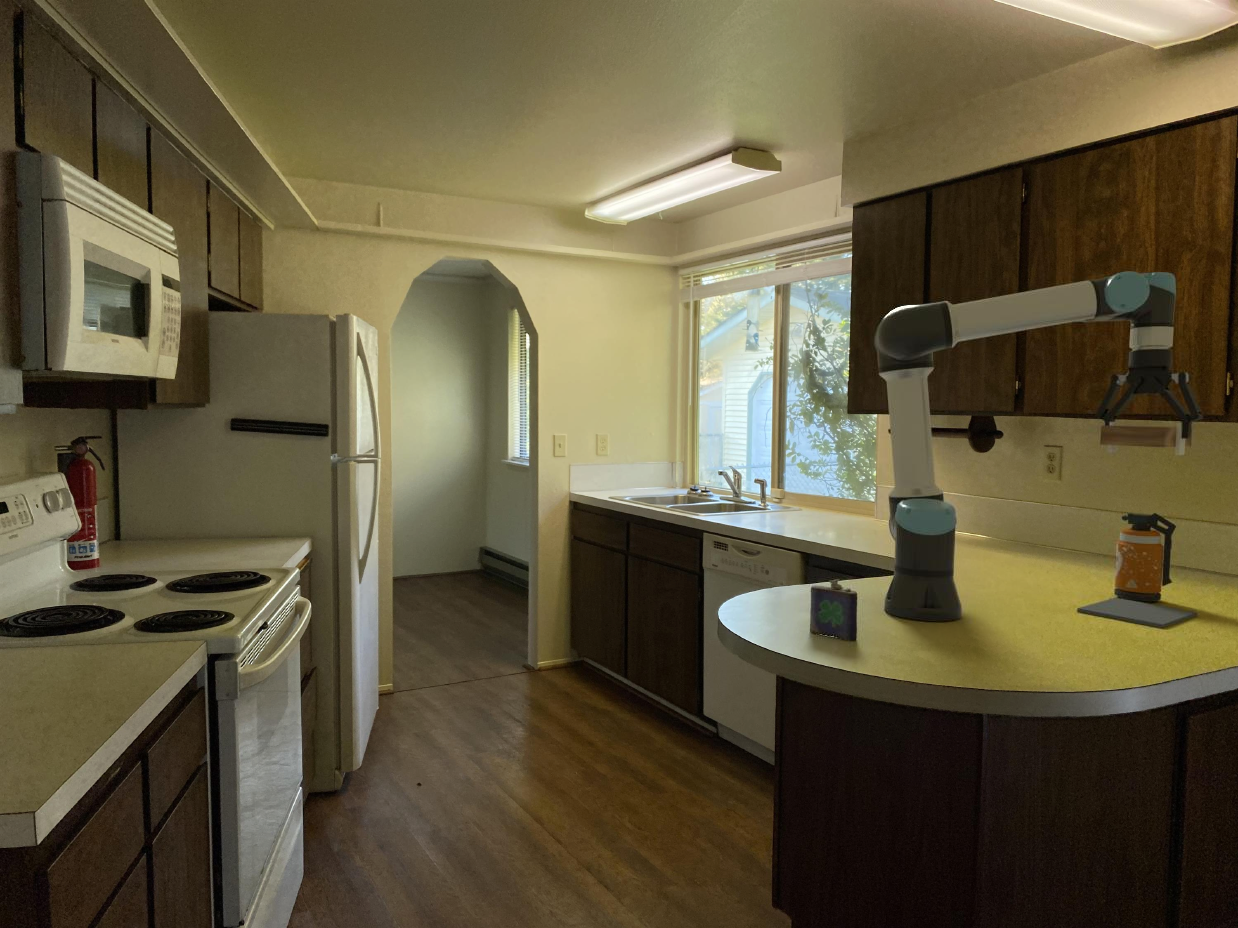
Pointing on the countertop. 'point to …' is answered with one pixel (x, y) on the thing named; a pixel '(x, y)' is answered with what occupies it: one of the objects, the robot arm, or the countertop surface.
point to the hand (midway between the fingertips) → (1145, 453)
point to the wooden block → (1140, 436)
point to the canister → (1143, 558)
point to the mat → (1138, 612)
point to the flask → (834, 611)
